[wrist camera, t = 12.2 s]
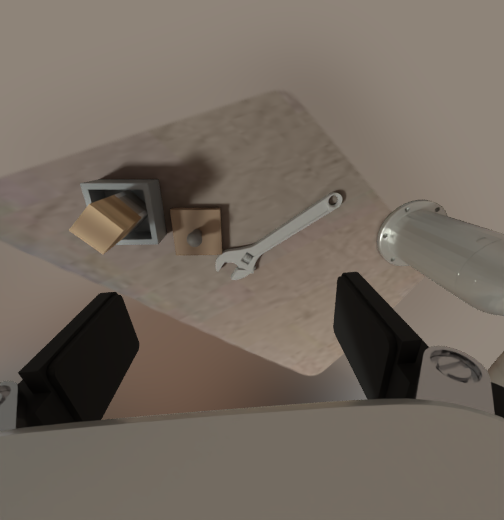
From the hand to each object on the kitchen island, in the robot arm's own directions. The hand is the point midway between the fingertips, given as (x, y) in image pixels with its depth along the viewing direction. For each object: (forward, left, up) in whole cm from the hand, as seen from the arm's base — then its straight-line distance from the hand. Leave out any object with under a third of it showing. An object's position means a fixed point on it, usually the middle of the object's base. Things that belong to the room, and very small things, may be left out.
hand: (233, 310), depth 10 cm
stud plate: (+6, +6, -31) cm, 33 cm away
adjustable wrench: (-8, +8, -32) cm, 34 cm away
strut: (+16, +2, -30) cm, 34 cm away
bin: (+16, +2, -31) cm, 35 cm away
